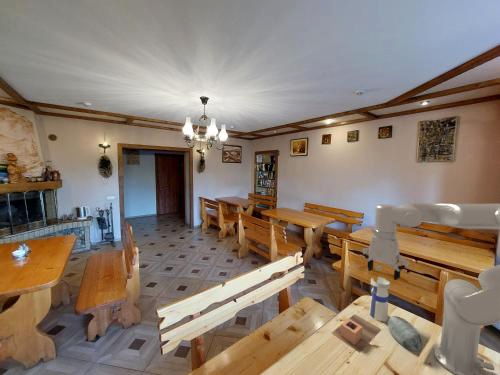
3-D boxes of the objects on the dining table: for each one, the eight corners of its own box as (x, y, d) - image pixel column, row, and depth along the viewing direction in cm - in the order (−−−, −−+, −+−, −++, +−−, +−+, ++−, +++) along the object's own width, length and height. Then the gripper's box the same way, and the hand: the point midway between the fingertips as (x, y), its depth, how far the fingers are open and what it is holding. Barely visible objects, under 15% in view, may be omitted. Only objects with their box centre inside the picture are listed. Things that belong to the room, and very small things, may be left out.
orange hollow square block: (347, 329, 93) (348, 318, 92) (361, 337, 88) (362, 326, 88) (340, 335, 89) (341, 324, 89) (354, 344, 84) (355, 333, 84)
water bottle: (363, 313, 105) (366, 265, 103) (378, 311, 106) (381, 264, 104) (376, 325, 97) (379, 273, 95) (392, 323, 98) (396, 272, 96)
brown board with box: (354, 317, 102) (355, 302, 102) (381, 332, 93) (382, 316, 92) (331, 336, 90) (331, 320, 90) (359, 356, 81) (360, 338, 80)
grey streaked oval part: (433, 350, 80) (418, 324, 82) (410, 360, 80) (395, 334, 82) (411, 332, 93) (398, 309, 95) (391, 340, 94) (379, 318, 96)
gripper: (359, 231, 91) (357, 269, 93) (406, 242, 78) (404, 286, 79) (367, 228, 96) (365, 264, 97) (413, 238, 82) (410, 280, 84)
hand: (382, 274), depth 88 cm, fingers open, 9 cm apart
